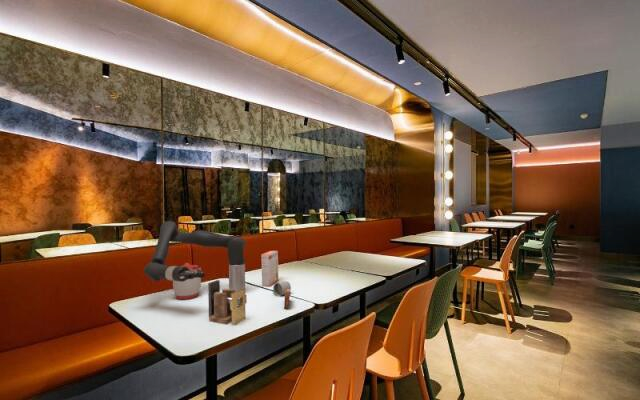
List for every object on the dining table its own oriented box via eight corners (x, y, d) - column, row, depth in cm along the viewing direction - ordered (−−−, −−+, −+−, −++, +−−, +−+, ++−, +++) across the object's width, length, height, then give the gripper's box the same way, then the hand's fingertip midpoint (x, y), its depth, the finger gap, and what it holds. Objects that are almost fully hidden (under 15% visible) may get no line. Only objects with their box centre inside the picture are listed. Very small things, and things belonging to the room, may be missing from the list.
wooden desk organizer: (208, 316, 149) (208, 283, 149) (217, 312, 154) (217, 280, 154) (235, 321, 143) (235, 286, 143) (243, 316, 148) (243, 283, 148)
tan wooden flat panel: (230, 325, 141) (229, 294, 141) (244, 317, 151) (243, 288, 150) (233, 325, 141) (232, 294, 141) (246, 317, 150) (246, 288, 150)
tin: (284, 300, 174) (284, 285, 174) (290, 300, 174) (290, 285, 174) (283, 310, 159) (283, 293, 159) (290, 310, 159) (289, 293, 159)
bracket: (209, 321, 146) (208, 293, 146) (223, 313, 155) (223, 287, 155) (226, 324, 142) (226, 295, 142) (240, 316, 151) (239, 289, 151)
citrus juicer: (208, 296, 183) (207, 262, 183) (176, 303, 172) (175, 266, 172) (200, 290, 195) (199, 258, 195) (169, 296, 185) (169, 262, 185)
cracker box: (270, 280, 216) (270, 250, 216) (278, 281, 215) (278, 250, 214) (261, 286, 203) (260, 254, 203) (269, 286, 201) (269, 254, 201)
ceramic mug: (292, 293, 186) (291, 280, 186) (282, 297, 180) (282, 283, 180) (279, 291, 193) (278, 278, 193) (269, 294, 186) (269, 281, 186)
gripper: (187, 277, 166) (213, 279, 160) (167, 284, 154) (194, 286, 148) (187, 263, 166) (212, 264, 160) (166, 269, 154) (193, 270, 147)
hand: (203, 275), depth 154 cm, fingers closed
